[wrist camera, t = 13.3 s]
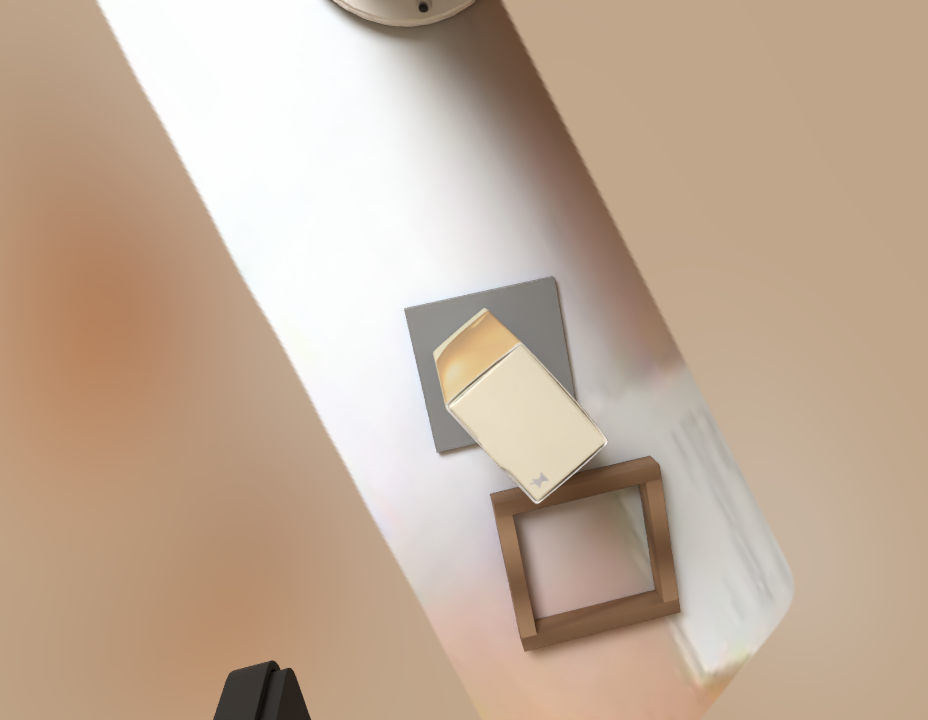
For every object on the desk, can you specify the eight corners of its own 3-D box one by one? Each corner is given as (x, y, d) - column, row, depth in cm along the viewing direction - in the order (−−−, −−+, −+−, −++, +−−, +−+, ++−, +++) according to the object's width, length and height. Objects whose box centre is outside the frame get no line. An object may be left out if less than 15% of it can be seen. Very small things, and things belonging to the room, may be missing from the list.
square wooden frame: (490, 493, 42) (493, 503, 40) (649, 456, 42) (659, 464, 41) (520, 637, 44) (524, 651, 43) (670, 599, 45) (680, 611, 43)
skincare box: (550, 379, 40) (618, 447, 28) (496, 426, 40) (541, 513, 28) (481, 300, 39) (522, 337, 27) (426, 349, 39) (442, 408, 27)
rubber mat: (404, 308, 39) (404, 309, 38) (552, 276, 39) (554, 277, 39) (436, 449, 41) (436, 452, 40) (576, 417, 41) (578, 419, 41)
